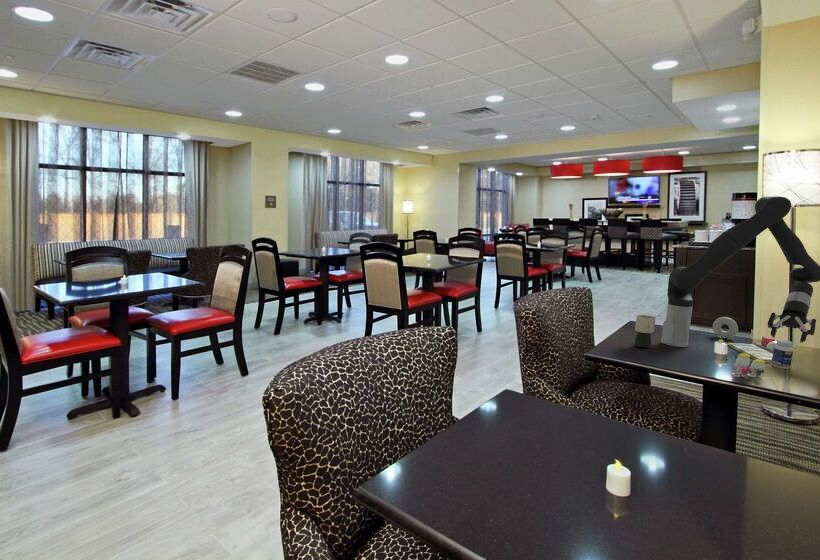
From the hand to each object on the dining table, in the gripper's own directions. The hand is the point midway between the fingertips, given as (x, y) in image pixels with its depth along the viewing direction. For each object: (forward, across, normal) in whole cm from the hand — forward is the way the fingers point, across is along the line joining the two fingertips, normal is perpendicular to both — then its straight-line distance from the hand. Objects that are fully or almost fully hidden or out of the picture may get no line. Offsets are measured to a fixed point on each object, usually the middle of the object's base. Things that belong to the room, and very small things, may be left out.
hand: (787, 338), depth 182 cm
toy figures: (+28, -6, -13) cm, 32 cm away
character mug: (+23, -44, -9) cm, 50 cm away
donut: (-10, -25, +25) cm, 37 cm away
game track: (+2, -10, +12) cm, 16 cm away
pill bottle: (+11, 0, +4) cm, 11 cm away
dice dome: (-5, -7, +21) cm, 23 cm away
